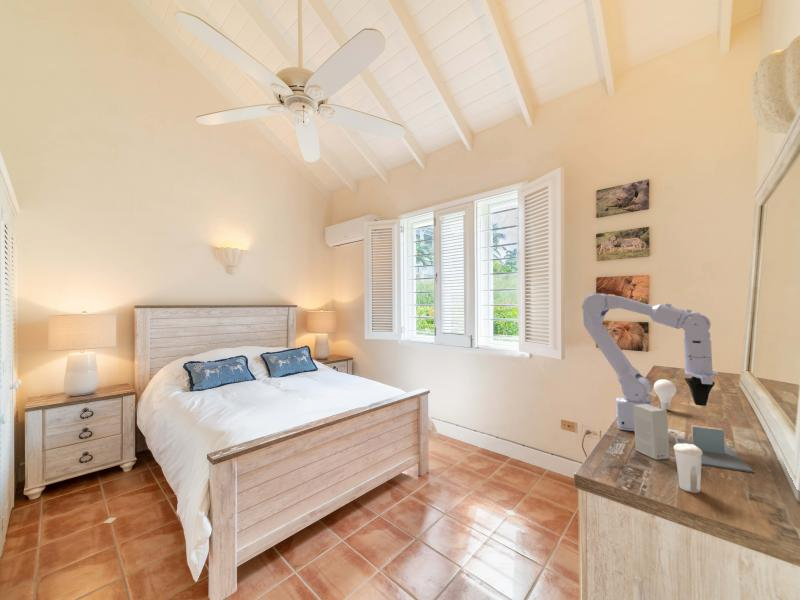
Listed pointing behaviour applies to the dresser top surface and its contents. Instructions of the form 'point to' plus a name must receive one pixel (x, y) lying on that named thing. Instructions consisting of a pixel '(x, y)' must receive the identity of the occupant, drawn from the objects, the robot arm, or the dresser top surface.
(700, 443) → the tile
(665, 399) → the lightbulb
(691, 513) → the dresser top surface
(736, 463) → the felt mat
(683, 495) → the dresser top surface
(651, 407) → the skincare box
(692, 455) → the milkshake
